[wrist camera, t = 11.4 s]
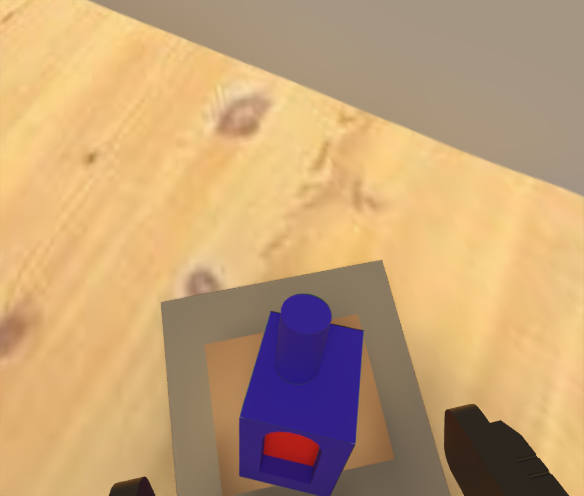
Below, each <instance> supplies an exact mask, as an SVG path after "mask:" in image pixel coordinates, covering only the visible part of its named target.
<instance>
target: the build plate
mask: <svg viewBox="0 0 584 496" xmlns="http://www.w3.org/2000/svg"><path fill="white" fill-rule="evenodd" d="M301 293H308V294H312V295H316V296H318V297H320V298H322V299H323V300H324V301H325V302H326V303H327V304H328V305H329V307H330V309H331V313H332V320H331V324H336V325H341V326H346V327H350V328H355V329H360V330H364V336H363V350H362V364H361V378H360V392H359V406H358V420H357V434H356V445H355V447H354V449H353V451H352V453H351V455H350V457H349V459H348V461H347V463H346V465H345V467H344V469H343V471H342V473H341V475H340V477H339V479H338V481H337V483H336V485H335V488H334V490H333V492H332V494H331V496H450V493H449V490H448V486H447V483H446V479H445V476H444V473H443V469H442V466H441V462H440V459H439V455H438V452H437V448H436V445H435V441H434V438H433V435H432V431H431V428H430V424H429V421H428V417H427V414H426V410H425V407H424V403H423V400H422V396H421V393H420V390H419V386H418V383H417V379H416V376H415V372H414V369H413V365H412V362H411V358H410V355H409V352H408V348H407V345H406V341H405V338H404V334H403V331H402V327H401V324H400V320H399V317H398V314H397V310H396V307H395V303H394V300H393V296H392V293H391V289H390V286H389V282H388V279H387V275H386V272H385V269H384V265H383V262H382V260H380V261H374V262H369V263H364V264H359V265H353V266H348V267H343V268H338V269H333V270H327V271H322V272H317V273H312V274H306V275H301V276H296V277H291V278H285V279H280V280H275V281H270V282H264V283H259V284H254V285H249V286H244V287H238V288H233V289H228V290H223V291H217V292H212V293H207V294H202V295H196V296H191V297H186V298H181V299H175V300H170V301H165V302H161V311H162V323H163V334H164V346H165V358H166V370H167V382H168V394H169V406H170V418H171V430H172V442H173V454H174V466H175V478H176V490H177V496H317V495H313V494H309V493H305V492H301V491H297V490H293V489H289V488H284V487H280V486H276V485H272V484H268V483H264V482H260V481H256V480H252V479H248V478H244V477H240V476H239V416H240V412H241V409H242V406H243V402H244V399H245V395H246V392H247V389H248V385H249V382H250V379H251V375H252V372H253V368H254V365H255V362H256V358H257V355H258V351H259V348H260V345H261V341H262V338H263V335H264V331H265V328H266V324H267V321H268V318H269V314H270V311H274V312H279V313H281V307H282V305H283V303H284V301H285V300H287V299H288V298H289V297H290V296H293V295H296V294H301Z"/></svg>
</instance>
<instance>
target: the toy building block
mask: <svg viewBox="0 0 584 496" xmlns="http://www.w3.org/2000/svg"><path fill="white" fill-rule="evenodd" d="M331 320H332V313H331V309H330V307H329V305H328V304H327V303H326V302H325V301H324V300H323V299H322V298H320V297H318V296H316V295H312V294H308V293H301V294H296V295H293V296H290V297H289V298H288V299H287V300H285V301H284V303H283V305H282V307H281V313H279V312H274V311H270V314H269V318H268V321H267V324H266V328H265V331H264V335H263V338H262V341H261V345H260V348H259V351H258V355H257V358H256V362H255V365H254V368H253V372H252V375H251V379H250V382H249V385H248V389H247V392H246V395H245V399H244V402H243V406H242V409H241V412H240V416H239V476H240V477H244V478H248V479H252V480H256V481H260V482H264V483H268V484H272V485H276V486H280V487H284V488H289V489H293V490H297V491H301V492H305V493H309V494H313V495H317V496H331V494H332V492H333V490H334V488H335V485H336V483H337V481H338V479H339V477H340V475H341V473H342V471H343V469H344V467H345V465H346V463H347V461H348V459H349V457H350V455H351V453H352V451H353V449H354V447H355V445H356V434H357V420H358V406H359V392H360V378H361V364H362V350H363V336H364V330H360V329H355V328H350V327H346V326H341V325H336V324H331Z"/></svg>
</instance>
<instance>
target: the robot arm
mask: <svg viewBox="0 0 584 496" xmlns="http://www.w3.org/2000/svg"><path fill="white" fill-rule="evenodd" d="M444 450H445V455H446V459H447V462H448V465H449V467H450V470H451V472H452V474H453V476H454V477H455V479H456V481H457V483H458V485H459V487H460V488H461V490H462V492H463V494H464V496H569V495H568V494H567V492H566V491H565V490H564V489H563V487H562V486H561V485H560V484H559V482H558V481H557V480H556V478H555V477H554V476H553V475H552V474H550V473H549V470H548V468H547V467H546V466H545V465H544V463H543V462H542V461H541V460H540V458H538V457H537V456H536V453H535V452H534V451H533V449H532V448H531V447H530V446H529V444H528V443H527V442H526V441H525V439H524V438H523V437H522V435H520V434H519V433H518V432H516V431H515V430H513V429H512V428H511V427H509V426H508V425H506V424H505V423H504V422H502V421H501V420H500V421H496V422H492V423H489V421H488V420H487V418H486V417H485V416H484V414H483V413H482V412H481V410H480V409H479V408H478V407H477V406H476V405H475V404H469V405H465V406H460V407H456V408H451V409H447V410H446V411H445V425H444ZM109 496H155V494H154V491H153V489H152V487H151V485H150V483H149V481H148V479H147V478H146V477H141V478H136V479H132V480H128V481H123V482H119V483H115V484H114V485H113V487H112V488H111V491H110V494H109Z"/></svg>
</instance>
